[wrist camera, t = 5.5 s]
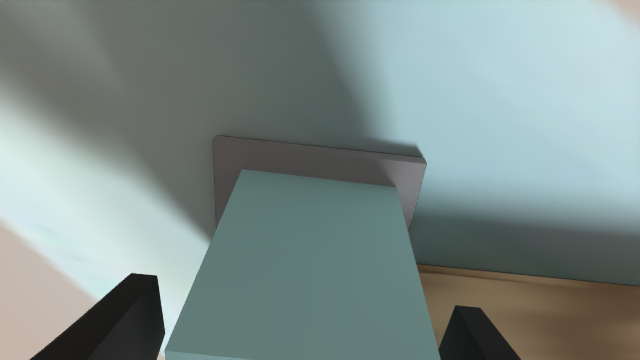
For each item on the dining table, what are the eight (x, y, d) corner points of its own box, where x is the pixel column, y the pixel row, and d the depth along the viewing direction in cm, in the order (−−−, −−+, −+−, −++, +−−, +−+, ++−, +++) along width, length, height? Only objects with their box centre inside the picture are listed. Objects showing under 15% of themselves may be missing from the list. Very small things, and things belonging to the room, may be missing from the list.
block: (396, 187, 12) (445, 380, 6) (369, 297, 14) (389, 505, 9) (241, 168, 11) (164, 350, 6) (239, 283, 14) (181, 486, 9)
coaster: (424, 157, 12) (426, 163, 11) (386, 304, 15) (387, 312, 14) (216, 135, 11) (212, 141, 11) (221, 287, 14) (218, 296, 14)
